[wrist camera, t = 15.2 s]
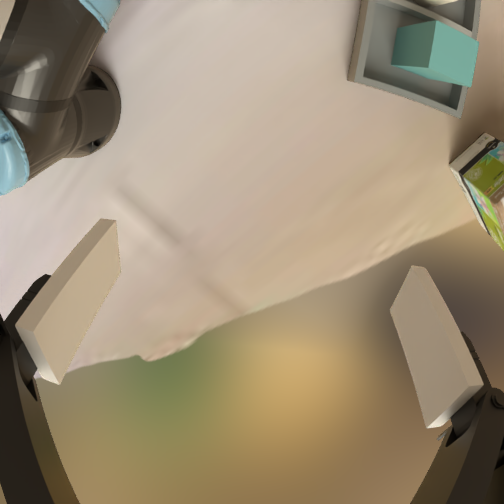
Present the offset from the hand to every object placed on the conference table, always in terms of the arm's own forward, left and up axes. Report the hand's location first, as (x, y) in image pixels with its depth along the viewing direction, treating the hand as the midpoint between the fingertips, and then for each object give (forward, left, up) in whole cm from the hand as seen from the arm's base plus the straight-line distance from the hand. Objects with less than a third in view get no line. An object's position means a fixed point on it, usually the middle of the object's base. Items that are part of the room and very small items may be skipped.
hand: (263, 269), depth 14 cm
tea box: (+38, 0, -35) cm, 52 cm away
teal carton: (+18, +15, -34) cm, 41 cm away
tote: (+18, +20, -35) cm, 44 cm away
